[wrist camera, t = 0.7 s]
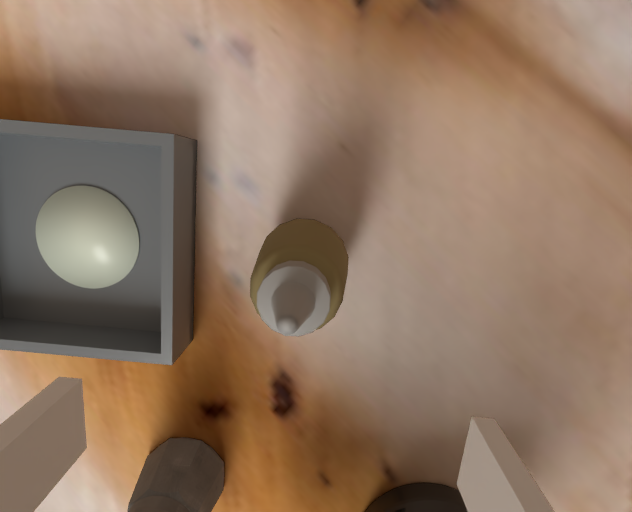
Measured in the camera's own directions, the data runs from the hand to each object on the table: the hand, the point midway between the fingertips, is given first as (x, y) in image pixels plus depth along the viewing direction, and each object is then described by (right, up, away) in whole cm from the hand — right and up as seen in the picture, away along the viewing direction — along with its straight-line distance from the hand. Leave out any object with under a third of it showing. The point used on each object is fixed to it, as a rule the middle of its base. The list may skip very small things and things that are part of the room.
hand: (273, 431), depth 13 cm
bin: (-20, +8, +25) cm, 33 cm away
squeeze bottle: (0, +6, +25) cm, 26 cm away
